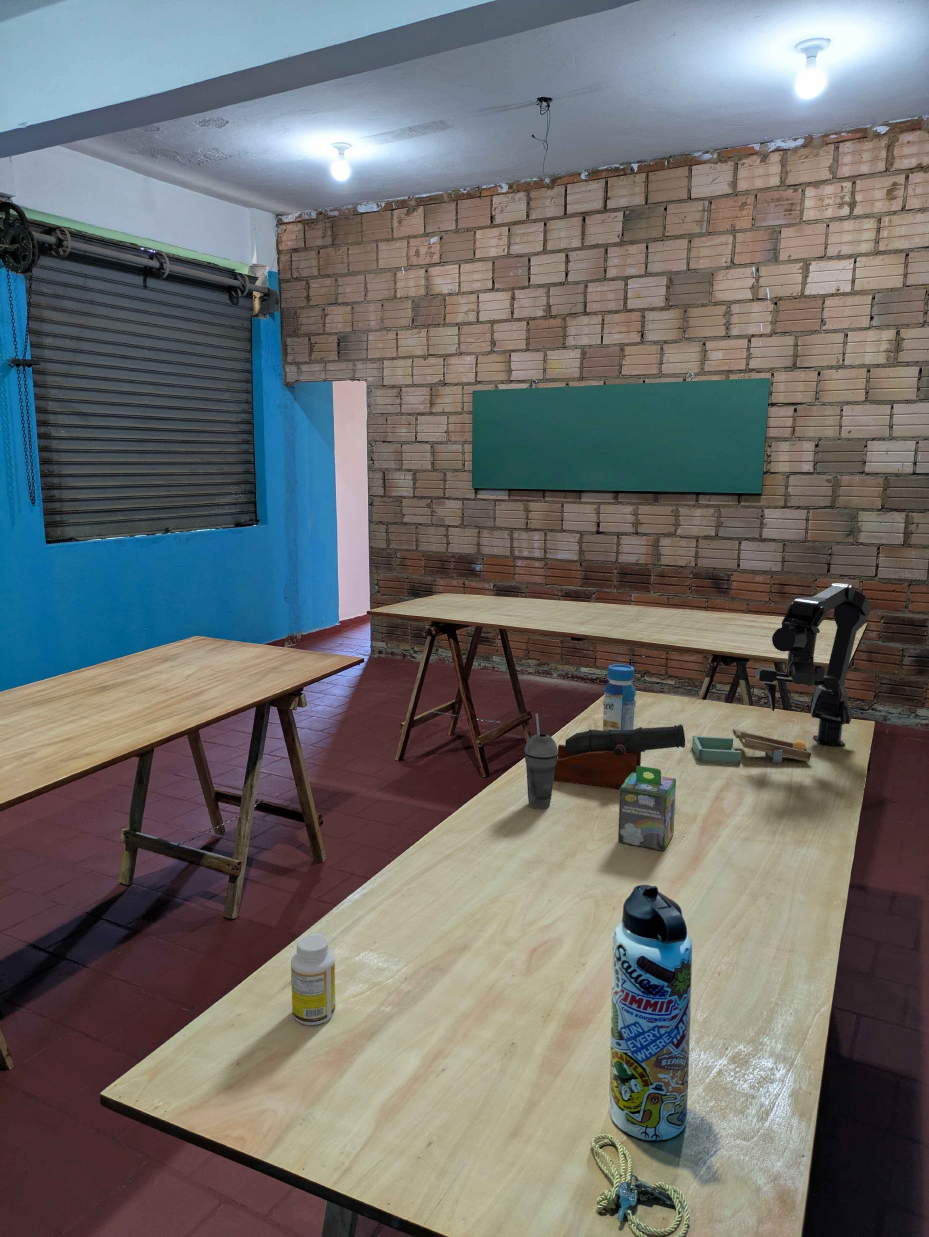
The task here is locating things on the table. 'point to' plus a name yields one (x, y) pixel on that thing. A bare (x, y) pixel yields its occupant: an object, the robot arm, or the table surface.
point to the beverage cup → (540, 768)
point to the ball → (799, 745)
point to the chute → (771, 745)
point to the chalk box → (647, 809)
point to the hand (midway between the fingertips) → (792, 713)
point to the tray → (715, 750)
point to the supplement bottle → (313, 980)
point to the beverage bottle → (619, 699)
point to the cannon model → (610, 754)
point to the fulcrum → (776, 756)
